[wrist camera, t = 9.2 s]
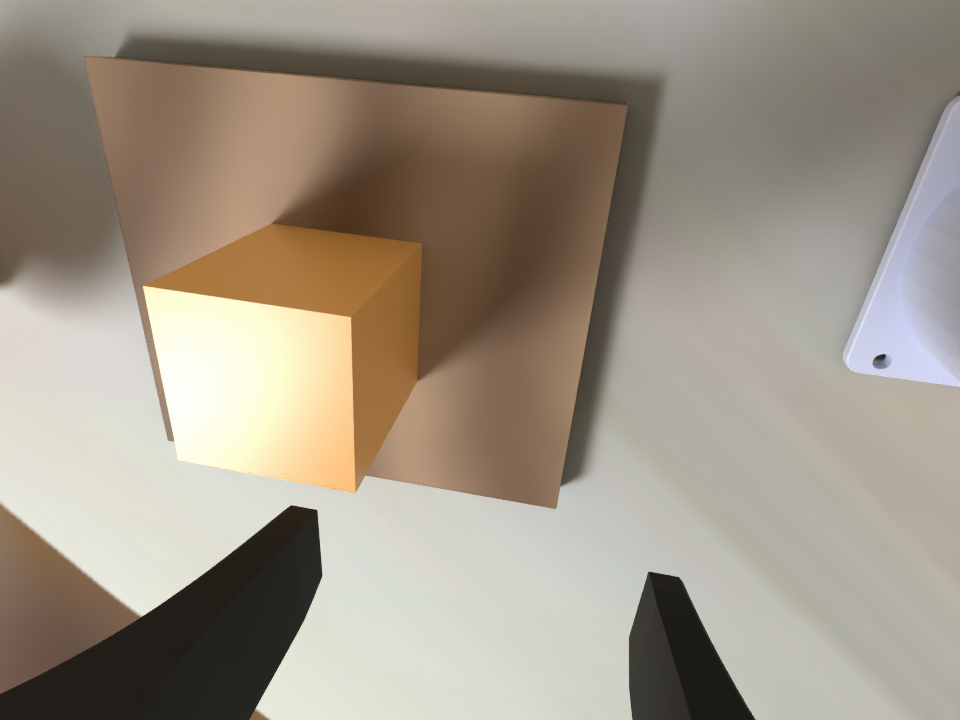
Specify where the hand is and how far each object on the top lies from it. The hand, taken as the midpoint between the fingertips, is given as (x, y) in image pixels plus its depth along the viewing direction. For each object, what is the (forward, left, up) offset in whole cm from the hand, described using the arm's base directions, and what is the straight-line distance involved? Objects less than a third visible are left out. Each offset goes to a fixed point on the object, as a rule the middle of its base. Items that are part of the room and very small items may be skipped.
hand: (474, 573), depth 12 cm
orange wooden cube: (+6, -2, -8) cm, 10 cm away
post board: (+6, -2, -9) cm, 11 cm away
